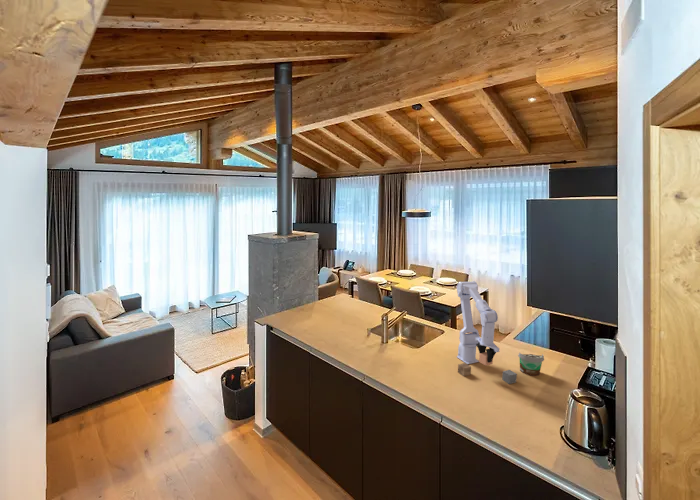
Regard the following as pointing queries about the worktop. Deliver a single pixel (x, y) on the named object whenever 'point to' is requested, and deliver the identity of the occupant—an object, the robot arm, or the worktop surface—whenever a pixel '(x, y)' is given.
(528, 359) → the food container
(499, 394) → the worktop surface
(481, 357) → the terracotta block
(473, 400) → the worktop surface
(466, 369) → the walnut block
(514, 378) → the charcoal block
